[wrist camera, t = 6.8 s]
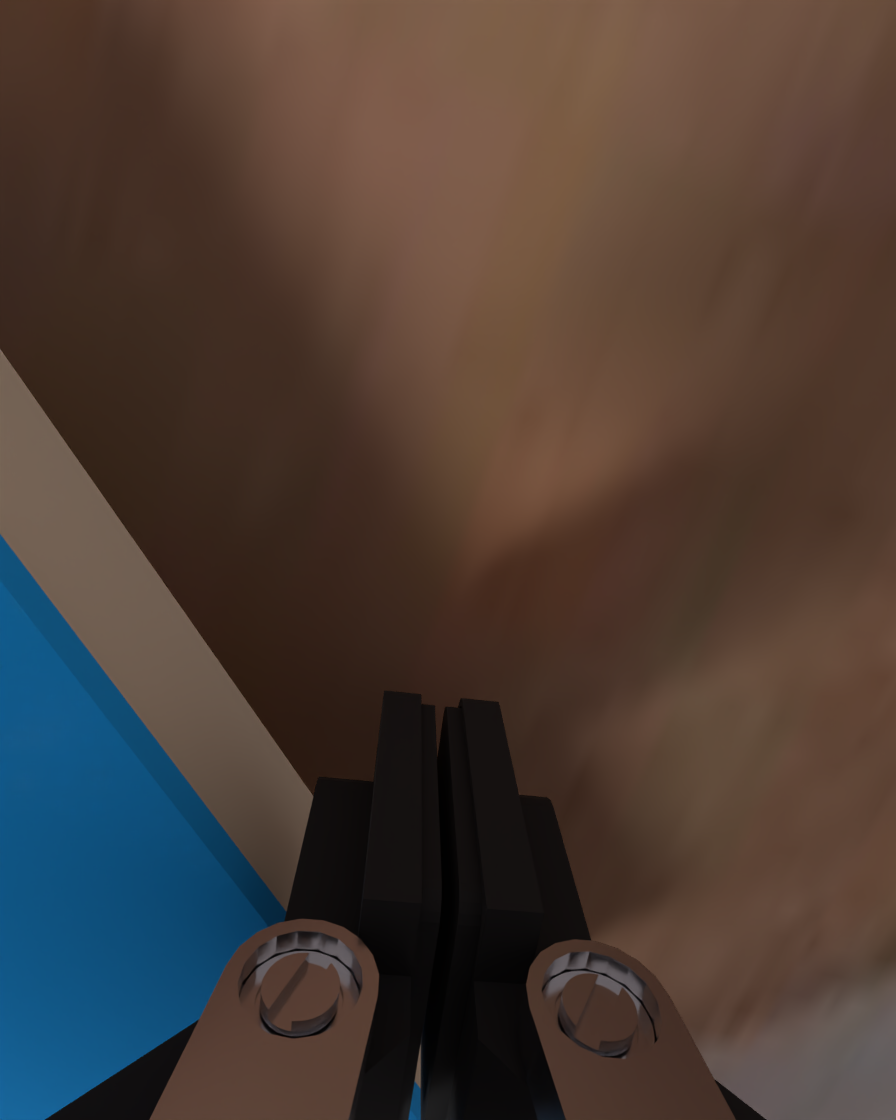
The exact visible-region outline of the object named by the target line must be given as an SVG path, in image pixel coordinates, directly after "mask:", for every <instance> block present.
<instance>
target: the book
mask: <svg viewBox="0 0 896 1120" xmlns="http://www.w3.org/2000/svg"><path fill="white" fill-rule="evenodd" d="M312 800H313V795H312V794H311V792H310V791H309V789H308V788H307V787H306V785H305V784H304V782H303V781H302V779H301V778H300V777H299V775H298V774H297V772H296V771H295V769H294V768H293V767H292V765H291V764H290V762H289V761H288V759H287V758H286V757H285V755H284V754H283V752H282V751H281V749H280V748H279V747H278V745H277V744H276V742H275V741H274V739H273V738H272V737H271V735H270V734H269V732H268V731H267V729H266V728H265V727H264V725H263V724H262V722H261V721H260V719H259V718H258V717H257V715H256V714H255V712H254V711H253V709H252V708H251V707H250V705H249V704H248V702H247V701H246V699H245V698H244V697H243V695H242V694H241V692H240V691H239V689H238V688H237V687H236V685H235V684H234V682H233V681H232V679H231V678H230V677H229V675H228V674H227V672H226V671H225V669H224V668H223V667H222V665H221V664H220V662H219V661H218V659H217V658H216V657H215V655H214V654H213V652H212V651H211V649H210V648H209V647H208V645H207V644H206V642H205V641H204V639H203V638H202V637H201V635H200V634H199V632H198V631H197V629H196V628H195V627H194V625H193V624H192V622H191V621H190V619H189V618H188V617H187V615H186V614H185V612H184V611H183V609H182V608H181V607H180V605H179V604H178V602H177V601H176V599H175V598H174V597H173V595H172V594H171V592H170V591H169V589H168V588H167V587H166V585H165V584H164V582H163V581H162V579H161V578H160V577H159V575H158V574H157V572H156V571H155V569H154V568H153V567H152V565H151V564H150V562H149V561H148V559H147V558H146V557H145V555H144V554H143V552H142V551H141V549H140V548H139V547H138V545H137V544H136V542H135V541H134V539H133V538H132V537H131V535H130V534H129V532H128V531H127V529H126V528H125V527H124V525H123V524H122V522H121V521H120V519H119V518H118V517H117V515H116V514H115V512H114V511H113V509H112V508H111V507H110V505H109V504H108V502H107V501H106V499H105V498H104V497H103V495H102V494H101V492H100V491H99V489H98V488H97V487H96V485H95V484H94V482H93V481H92V479H91V478H90V477H89V475H88V474H87V472H86V471H85V469H84V468H83V467H82V465H81V464H80V462H79V461H78V459H77V458H76V457H75V455H74V454H73V452H72V451H71V449H70V448H69V447H68V445H67V444H66V442H65V441H64V439H63V438H62V437H61V435H60V434H59V432H58V431H57V429H56V428H55V427H54V425H53V424H52V422H51V421H50V419H49V418H48V417H47V415H46V414H45V412H44V411H43V409H42V408H41V407H40V405H39V404H38V402H37V401H36V399H35V398H34V397H33V395H32V394H31V392H30V391H29V389H28V388H27V387H26V385H25V384H24V382H23V381H22V379H21V378H20V377H19V375H18V374H17V372H16V371H15V369H14V368H13V367H12V365H11V364H10V362H9V361H8V359H7V358H6V357H5V355H4V354H3V352H2V351H1V349H0V1120H45V1119H46V1118H48V1117H50V1116H51V1115H53V1114H54V1113H56V1112H57V1111H59V1110H60V1109H62V1108H63V1107H65V1106H66V1105H68V1104H70V1103H71V1102H73V1101H74V1100H76V1099H77V1098H79V1097H80V1096H82V1095H83V1094H85V1093H86V1092H88V1091H90V1090H91V1089H93V1088H94V1087H96V1086H97V1085H99V1084H100V1083H102V1082H103V1081H105V1080H106V1079H108V1078H110V1077H111V1076H113V1075H114V1074H116V1073H117V1072H119V1071H120V1070H122V1069H123V1068H125V1067H126V1066H128V1065H130V1064H131V1063H133V1062H134V1061H136V1060H137V1059H139V1058H140V1057H142V1056H143V1055H145V1054H147V1053H148V1052H150V1051H151V1050H153V1049H154V1048H156V1047H157V1046H159V1045H160V1044H162V1043H163V1042H165V1041H167V1040H168V1039H170V1038H171V1037H173V1036H174V1035H176V1034H177V1033H179V1032H180V1031H182V1030H183V1029H185V1028H187V1027H188V1026H190V1025H191V1024H193V1023H194V1022H196V1021H197V1020H199V1019H200V1017H201V1015H202V1013H203V1011H204V1009H205V1007H206V1005H207V1003H208V1001H209V999H210V997H211V995H212V993H213V991H214V989H215V987H216V985H217V982H218V980H219V978H220V976H221V974H222V972H223V970H224V968H225V966H226V964H227V963H228V962H229V960H230V959H231V957H232V956H233V955H234V953H235V952H236V950H237V949H238V948H239V946H240V945H242V944H243V943H244V942H245V941H247V940H248V939H249V938H250V937H252V936H253V935H254V934H255V933H257V932H258V931H261V930H263V929H265V928H268V927H270V926H272V925H274V924H277V923H279V922H284V920H285V916H286V911H287V907H288V903H289V899H290V894H291V890H292V886H293V881H294V877H295V873H296V869H297V864H298V860H299V856H300V852H301V847H302V843H303V839H304V835H305V830H306V826H307V822H308V817H309V813H310V809H311V805H312ZM408 1120H421V1044H420V1050H419V1056H418V1063H417V1069H416V1075H415V1081H414V1088H413V1094H412V1100H411V1106H410V1112H409V1119H408Z"/></svg>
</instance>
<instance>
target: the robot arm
mask: <svg viewBox="0 0 896 1120" xmlns="http://www.w3.org/2000/svg"><path fill="white" fill-rule="evenodd" d="M420 1044H421V1120H766V1119H765V1118H763V1117H762V1116H761V1115H760V1114H758V1113H757V1112H756V1111H754V1110H753V1109H752V1108H751V1107H749V1106H748V1105H747V1104H745V1103H744V1102H743V1101H742V1100H740V1099H739V1098H738V1097H737V1096H735V1095H734V1094H733V1093H731V1092H730V1091H729V1090H728V1089H726V1088H725V1087H724V1086H722V1085H721V1084H720V1083H719V1082H717V1081H716V1080H715V1079H714V1078H713V1076H712V1074H711V1072H710V1071H709V1069H708V1067H707V1065H706V1063H705V1061H704V1059H703V1058H702V1056H701V1054H700V1052H699V1050H698V1048H697V1046H696V1045H695V1043H694V1041H693V1039H692V1037H691V1035H690V1033H689V1031H688V1030H687V1028H686V1026H685V1024H684V1022H683V1020H682V1018H681V1017H680V1015H679V1013H678V1011H677V1009H676V1007H675V1005H674V1003H673V1002H672V1000H671V998H670V996H669V995H668V993H667V992H666V990H665V989H664V988H663V986H662V985H661V983H660V982H659V980H658V979H657V978H656V976H655V975H654V974H652V973H651V972H650V971H649V970H648V969H647V968H646V967H645V966H644V965H642V964H641V963H640V962H639V961H638V960H637V959H635V958H633V957H631V956H630V955H628V954H626V953H625V952H623V951H621V950H619V949H618V948H615V947H612V946H609V945H606V944H603V943H600V942H597V941H591V938H590V935H589V931H588V928H587V924H586V921H585V917H584V914H583V910H582V907H581V903H580V900H579V896H578V892H577V889H576V885H575V882H574V878H573V875H572V871H571V868H570V864H569V861H568V857H567V854H566V850H565V847H564V843H563V840H562V836H561V833H560V829H559V826H558V822H557V818H556V815H555V811H554V808H553V805H552V803H551V800H550V799H548V798H547V797H536V796H525V795H519V794H518V789H517V784H516V780H515V775H514V770H513V766H512V761H511V757H510V752H509V747H508V743H507V738H506V733H505V729H504V724H503V719H502V715H501V710H500V706H499V703H498V702H493V701H483V700H473V699H463V698H461V699H460V702H459V706H458V708H454V707H446V708H445V711H444V716H443V723H442V730H441V737H440V743H439V750H438V757H437V747H436V721H435V706H434V705H424V704H421V694H413V693H404V692H394V691H384V696H383V705H382V713H381V722H380V730H379V739H378V747H377V756H376V764H375V773H374V781H373V782H371V781H360V780H349V779H338V778H327V777H319V778H318V780H317V784H316V788H315V792H314V796H313V800H312V805H311V809H310V813H309V817H308V822H307V826H306V830H305V835H304V839H303V843H302V847H301V852H300V856H299V860H298V864H297V869H296V873H295V877H294V881H293V886H292V890H291V894H290V899H289V903H288V907H287V911H286V916H285V920H284V922H279V923H277V924H274V925H272V926H270V927H268V928H265V929H263V930H261V931H258V932H257V933H255V934H254V935H253V936H252V937H250V938H249V939H248V940H247V941H245V942H244V943H243V944H242V945H240V946H239V948H238V949H237V950H236V952H235V953H234V955H233V956H232V957H231V959H230V960H229V962H228V963H227V964H226V966H225V968H224V970H223V972H222V974H221V976H220V978H219V980H218V982H217V985H216V987H215V989H214V991H213V993H212V995H211V997H210V999H209V1001H208V1003H207V1005H206V1007H205V1009H204V1011H203V1013H202V1015H201V1017H200V1019H199V1020H197V1021H196V1022H194V1023H193V1024H191V1025H190V1026H188V1027H187V1028H185V1029H183V1030H182V1031H180V1032H179V1033H177V1034H176V1035H174V1036H173V1037H171V1038H170V1039H168V1040H167V1041H165V1042H163V1043H162V1044H160V1045H159V1046H157V1047H156V1048H154V1049H153V1050H151V1051H150V1052H148V1053H147V1054H145V1055H143V1056H142V1057H140V1058H139V1059H137V1060H136V1061H134V1062H133V1063H131V1064H130V1065H128V1066H126V1067H125V1068H123V1069H122V1070H120V1071H119V1072H117V1073H116V1074H114V1075H113V1076H111V1077H110V1078H108V1079H106V1080H105V1081H103V1082H102V1083H100V1084H99V1085H97V1086H96V1087H94V1088H93V1089H91V1090H90V1091H88V1092H86V1093H85V1094H83V1095H82V1096H80V1097H79V1098H77V1099H76V1100H74V1101H73V1102H71V1103H70V1104H68V1105H66V1106H65V1107H63V1108H62V1109H60V1110H59V1111H57V1112H56V1113H54V1114H53V1115H51V1116H50V1117H48V1118H46V1119H45V1120H408V1119H409V1112H410V1106H411V1100H412V1094H413V1088H414V1081H415V1075H416V1069H417V1063H418V1056H419V1050H420Z"/></svg>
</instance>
